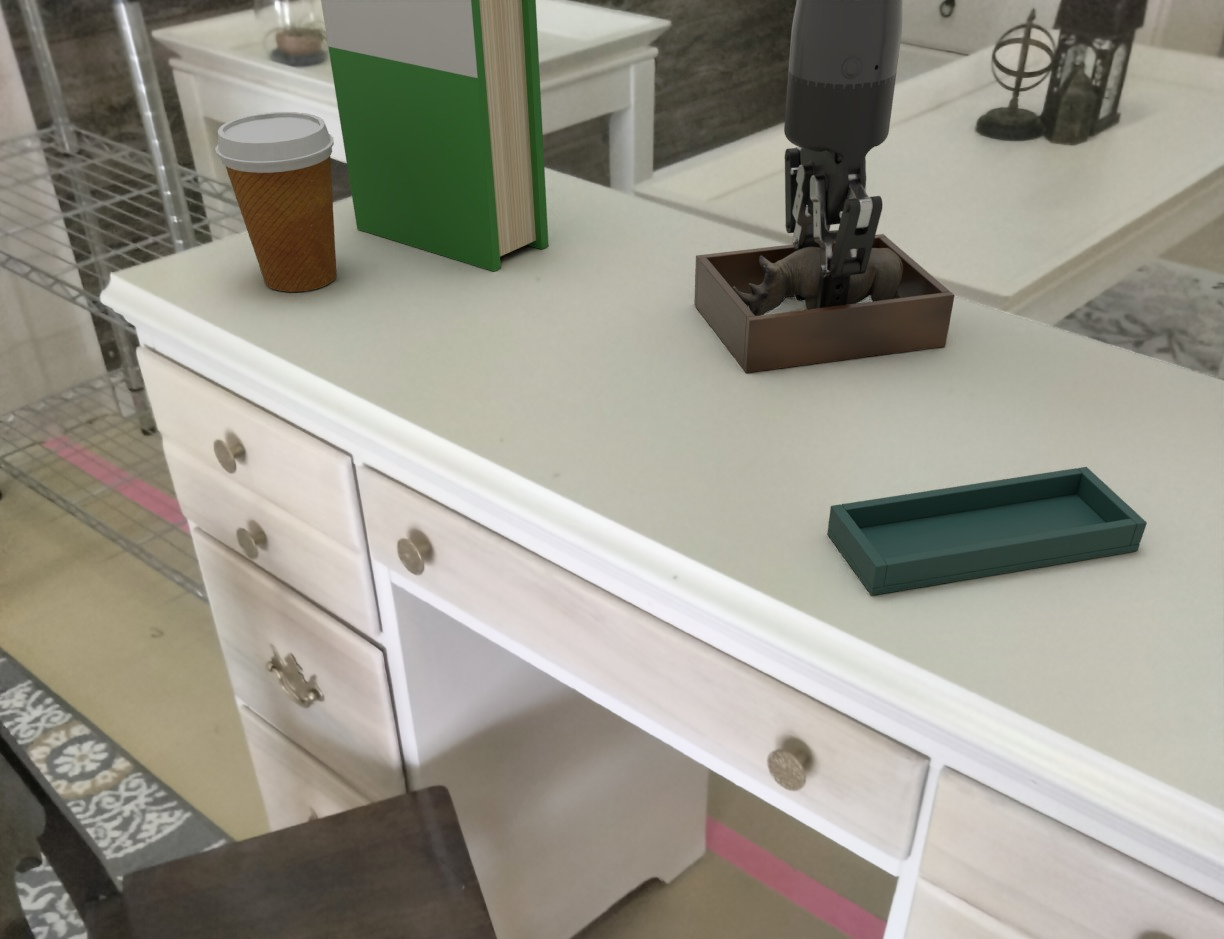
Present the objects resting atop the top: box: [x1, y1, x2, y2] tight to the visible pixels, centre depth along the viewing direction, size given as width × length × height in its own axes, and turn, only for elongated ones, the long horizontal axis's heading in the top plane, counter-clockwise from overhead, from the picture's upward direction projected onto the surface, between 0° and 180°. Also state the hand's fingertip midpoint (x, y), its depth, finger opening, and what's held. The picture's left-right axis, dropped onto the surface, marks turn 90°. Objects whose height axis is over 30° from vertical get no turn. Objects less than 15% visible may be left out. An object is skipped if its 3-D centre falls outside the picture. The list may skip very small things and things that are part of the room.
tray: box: [827, 466, 1148, 596], centre depth 74 cm, size 17×7×2 cm, turn 104°
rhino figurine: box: [733, 247, 903, 316], centre depth 95 cm, size 4×14×6 cm, turn 88°
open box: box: [693, 233, 955, 374], centre depth 96 cm, size 16×13×4 cm
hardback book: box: [320, 0, 549, 272], centre depth 104 cm, size 18×7×24 cm, turn 51°
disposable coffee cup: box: [215, 111, 338, 293], centre depth 102 cm, size 10×10×12 cm
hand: (817, 308), depth 96 cm, fingers closed on rhino figurine, 4 cm apart
